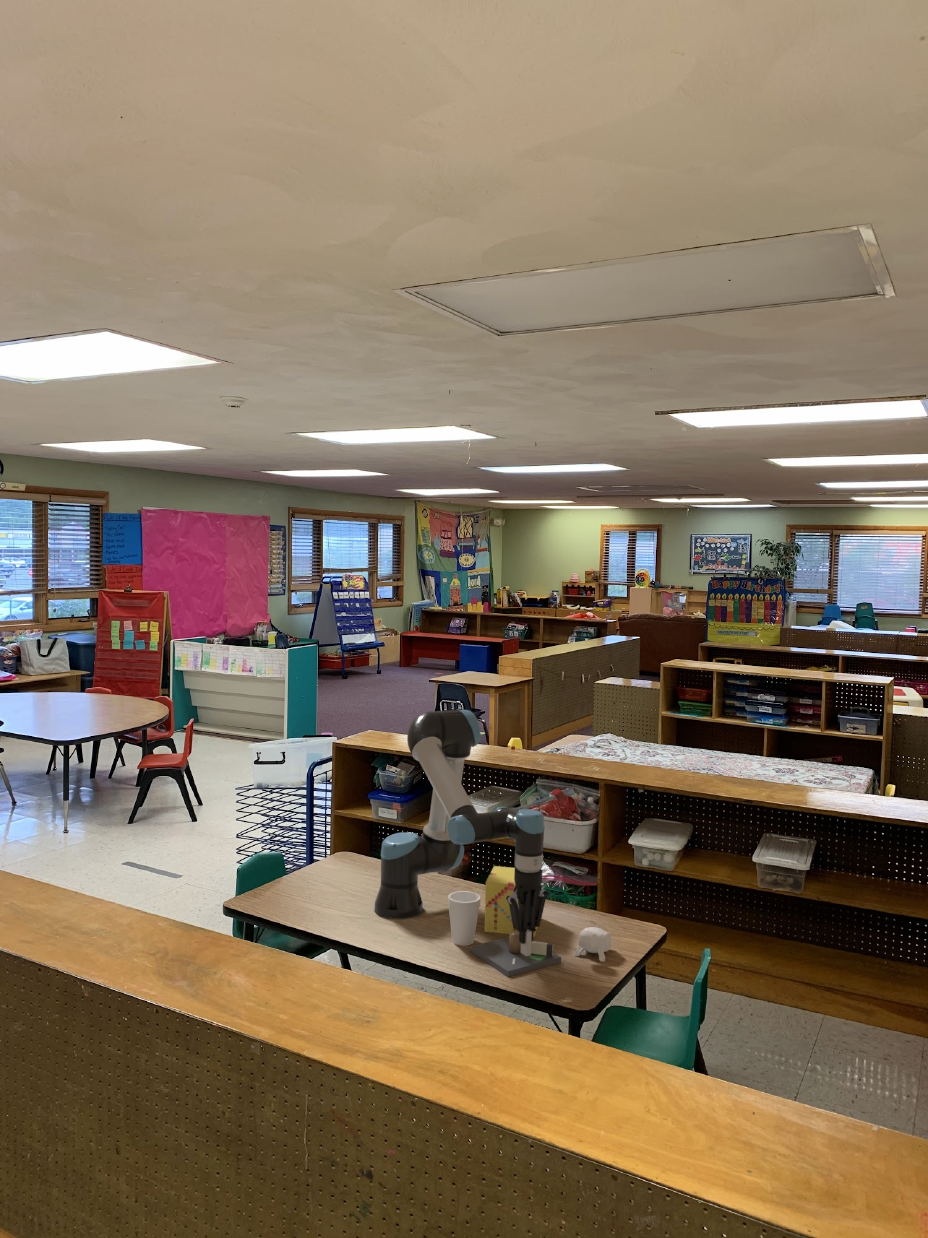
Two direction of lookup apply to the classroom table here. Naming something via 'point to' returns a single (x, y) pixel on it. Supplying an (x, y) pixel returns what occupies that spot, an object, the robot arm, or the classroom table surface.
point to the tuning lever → (535, 946)
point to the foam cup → (463, 916)
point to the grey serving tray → (511, 958)
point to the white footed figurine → (594, 942)
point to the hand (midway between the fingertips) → (525, 954)
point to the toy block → (499, 900)
